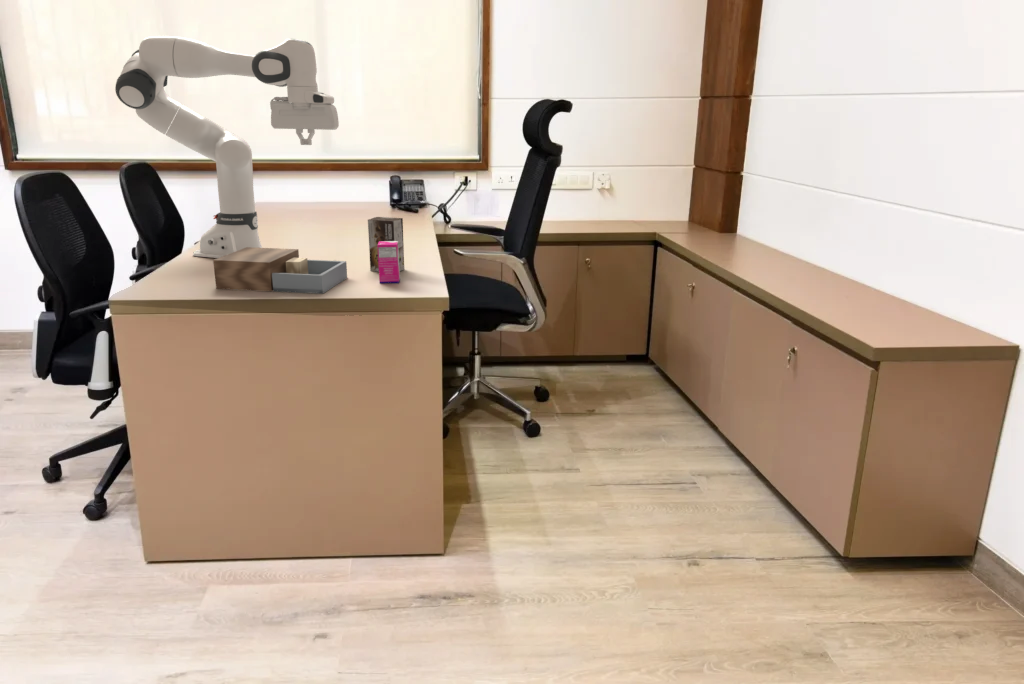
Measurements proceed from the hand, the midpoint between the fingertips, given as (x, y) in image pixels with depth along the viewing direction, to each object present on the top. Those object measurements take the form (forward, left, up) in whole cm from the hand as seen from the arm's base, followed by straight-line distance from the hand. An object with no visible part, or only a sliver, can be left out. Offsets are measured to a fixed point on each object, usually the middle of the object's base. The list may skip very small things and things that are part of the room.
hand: (306, 144), depth 228 cm
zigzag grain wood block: (-6, -26, -37) cm, 46 cm away
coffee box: (+25, -3, -37) cm, 45 cm away
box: (+9, -26, -37) cm, 46 cm away
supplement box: (+30, -18, -37) cm, 51 cm away
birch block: (+4, -26, -33) cm, 42 cm away
